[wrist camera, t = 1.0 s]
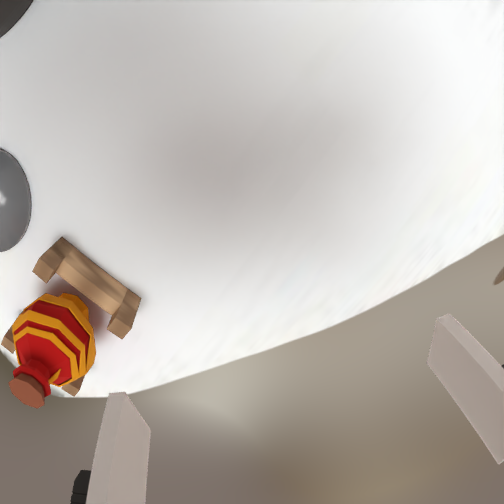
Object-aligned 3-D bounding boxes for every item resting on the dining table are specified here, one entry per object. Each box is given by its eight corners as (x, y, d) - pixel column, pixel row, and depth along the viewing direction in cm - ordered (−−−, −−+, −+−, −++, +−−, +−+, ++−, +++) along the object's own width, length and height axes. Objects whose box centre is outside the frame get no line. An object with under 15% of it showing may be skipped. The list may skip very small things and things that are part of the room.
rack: (19, 319, 35) (1, 344, 29) (62, 236, 32) (39, 258, 26) (85, 367, 39) (74, 396, 34) (141, 298, 36) (131, 328, 30)
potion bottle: (58, 345, 37) (20, 424, 23) (27, 281, 33) (-33, 353, 19) (121, 337, 38) (94, 429, 24) (91, 267, 33) (39, 349, 20)
